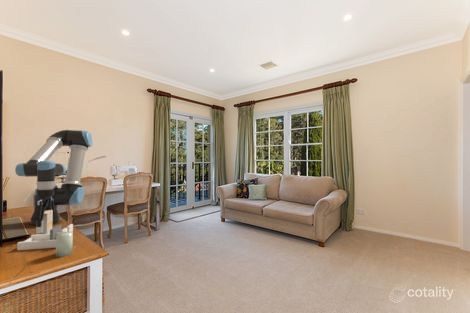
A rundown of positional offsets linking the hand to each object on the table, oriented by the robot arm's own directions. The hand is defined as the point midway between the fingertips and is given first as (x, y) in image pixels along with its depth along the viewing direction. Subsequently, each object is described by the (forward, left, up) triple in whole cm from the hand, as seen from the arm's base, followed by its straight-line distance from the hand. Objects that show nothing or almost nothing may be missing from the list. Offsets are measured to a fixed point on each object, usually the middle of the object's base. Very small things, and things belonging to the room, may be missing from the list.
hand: (44, 229), depth 124 cm
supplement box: (0, 0, -3) cm, 3 cm away
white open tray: (+15, +8, -3) cm, 17 cm away
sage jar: (+29, +21, -3) cm, 36 cm away
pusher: (+15, +14, -2) cm, 21 cm away
